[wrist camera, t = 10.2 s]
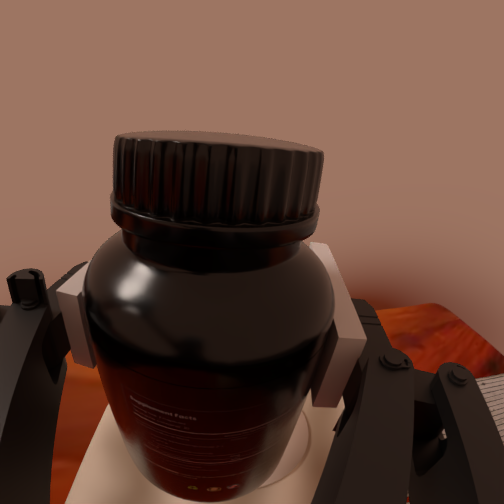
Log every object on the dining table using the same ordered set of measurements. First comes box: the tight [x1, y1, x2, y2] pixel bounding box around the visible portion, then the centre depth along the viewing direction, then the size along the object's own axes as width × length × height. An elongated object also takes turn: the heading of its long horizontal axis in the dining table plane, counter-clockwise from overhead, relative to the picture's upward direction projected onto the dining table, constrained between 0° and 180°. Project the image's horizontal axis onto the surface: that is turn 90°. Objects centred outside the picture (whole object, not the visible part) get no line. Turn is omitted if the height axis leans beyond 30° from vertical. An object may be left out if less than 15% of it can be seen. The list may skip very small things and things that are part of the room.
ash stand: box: [65, 389, 345, 504], centre depth 21 cm, size 20×20×4 cm
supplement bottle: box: [82, 131, 335, 503], centre depth 9 cm, size 7×7×12 cm
